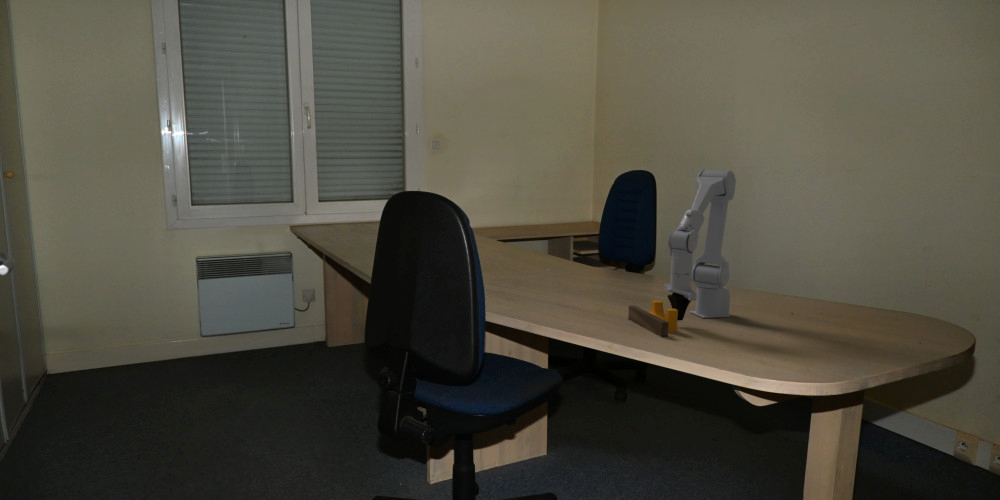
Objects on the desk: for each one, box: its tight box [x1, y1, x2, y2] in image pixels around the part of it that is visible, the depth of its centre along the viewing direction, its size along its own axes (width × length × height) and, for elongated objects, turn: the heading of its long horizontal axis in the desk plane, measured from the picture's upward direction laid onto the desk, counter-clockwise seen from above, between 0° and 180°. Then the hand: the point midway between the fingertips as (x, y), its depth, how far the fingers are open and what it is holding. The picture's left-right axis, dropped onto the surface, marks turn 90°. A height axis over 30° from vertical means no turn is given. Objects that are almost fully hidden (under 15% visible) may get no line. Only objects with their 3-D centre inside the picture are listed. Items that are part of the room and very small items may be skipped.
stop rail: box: [627, 305, 669, 338], centre depth 188 cm, size 2×20×4 cm, turn 14°
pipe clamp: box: [648, 300, 678, 334], centre depth 189 cm, size 12×4×6 cm, turn 10°
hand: (678, 319), depth 190 cm, fingers closed
